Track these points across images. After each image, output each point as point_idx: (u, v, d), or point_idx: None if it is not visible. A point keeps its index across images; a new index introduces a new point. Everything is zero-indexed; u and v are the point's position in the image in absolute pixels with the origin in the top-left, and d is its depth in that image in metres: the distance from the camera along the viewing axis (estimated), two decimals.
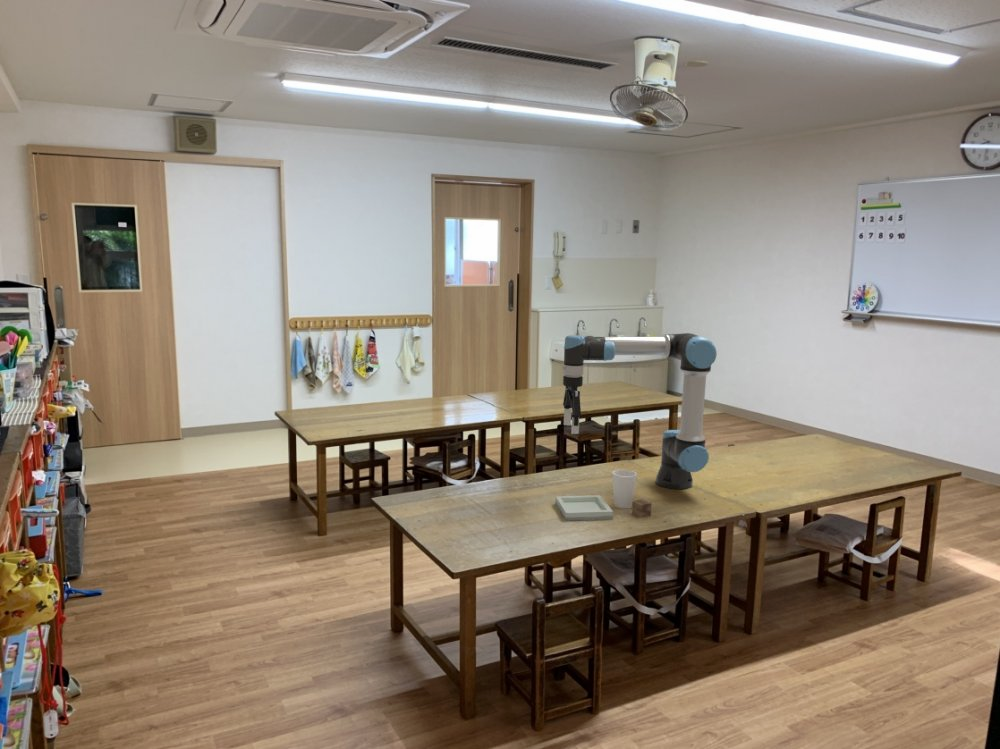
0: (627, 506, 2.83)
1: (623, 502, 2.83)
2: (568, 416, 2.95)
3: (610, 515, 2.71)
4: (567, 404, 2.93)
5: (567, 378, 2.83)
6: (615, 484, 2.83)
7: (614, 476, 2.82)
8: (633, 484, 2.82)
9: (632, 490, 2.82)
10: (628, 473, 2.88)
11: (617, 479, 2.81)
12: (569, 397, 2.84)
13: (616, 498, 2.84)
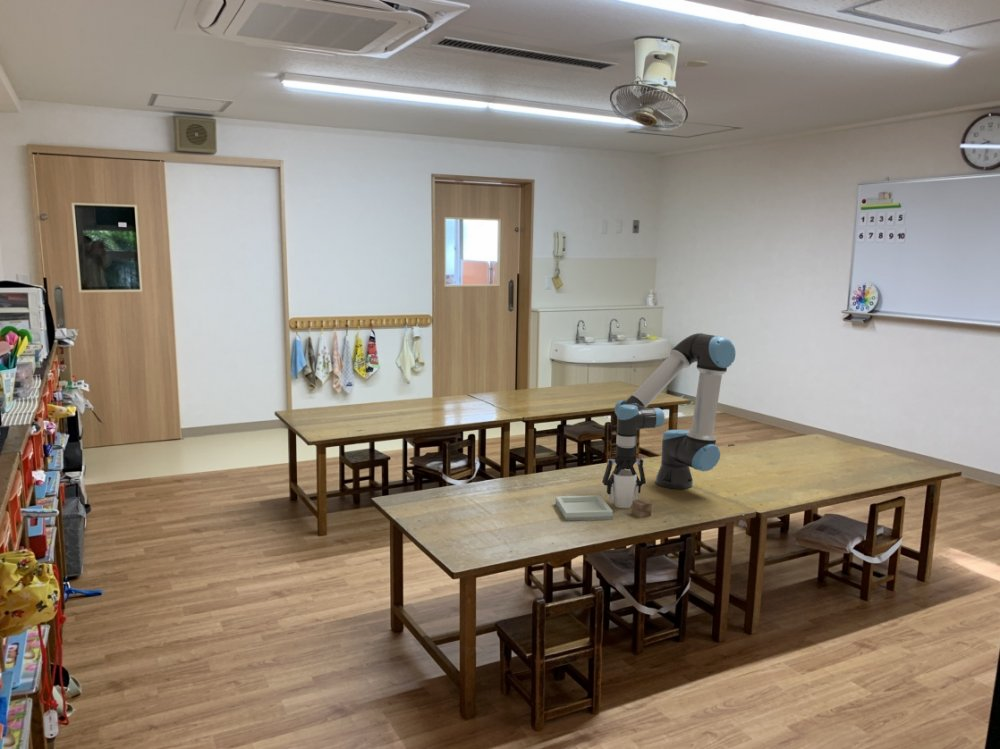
0: (627, 506, 2.83)
1: (623, 501, 2.83)
2: (635, 492, 2.86)
3: (610, 515, 2.71)
4: None
5: None
6: (615, 484, 2.83)
7: (614, 476, 2.82)
8: (633, 484, 2.82)
9: (632, 490, 2.82)
10: (628, 473, 2.88)
11: (617, 479, 2.81)
12: None
13: (616, 498, 2.84)
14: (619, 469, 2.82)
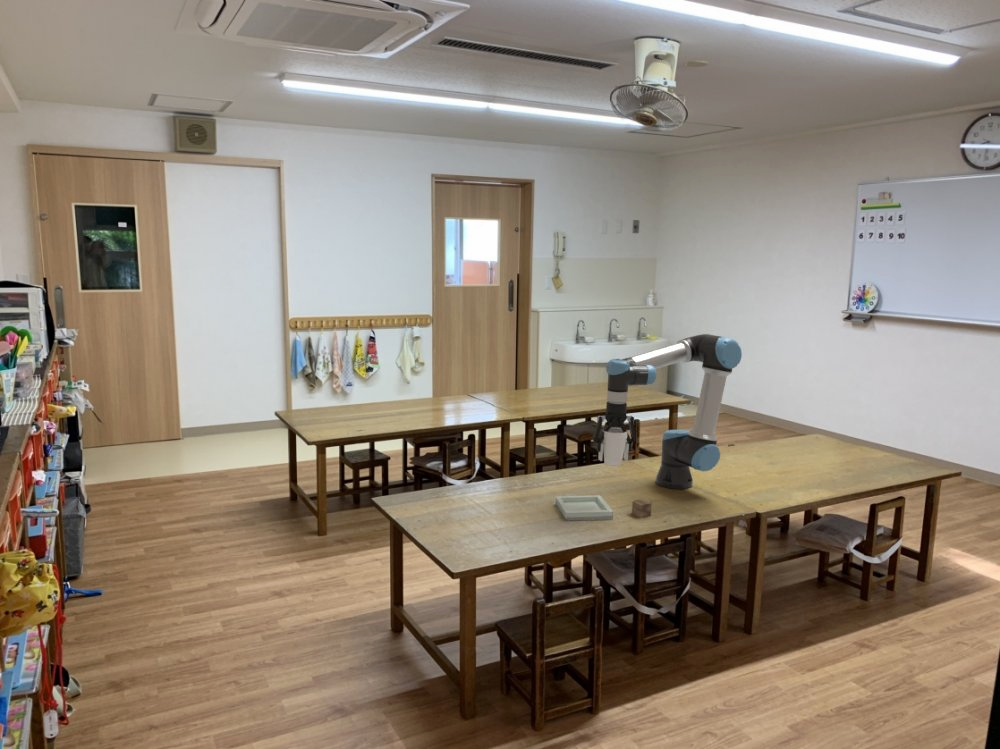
0: (617, 464, 2.78)
1: (613, 459, 2.77)
2: (625, 451, 2.80)
3: (610, 515, 2.71)
4: None
5: None
6: (605, 441, 2.77)
7: (604, 433, 2.77)
8: (623, 441, 2.76)
9: (622, 447, 2.77)
10: (618, 431, 2.82)
11: (607, 436, 2.76)
12: None
13: (606, 456, 2.78)
14: (609, 426, 2.76)
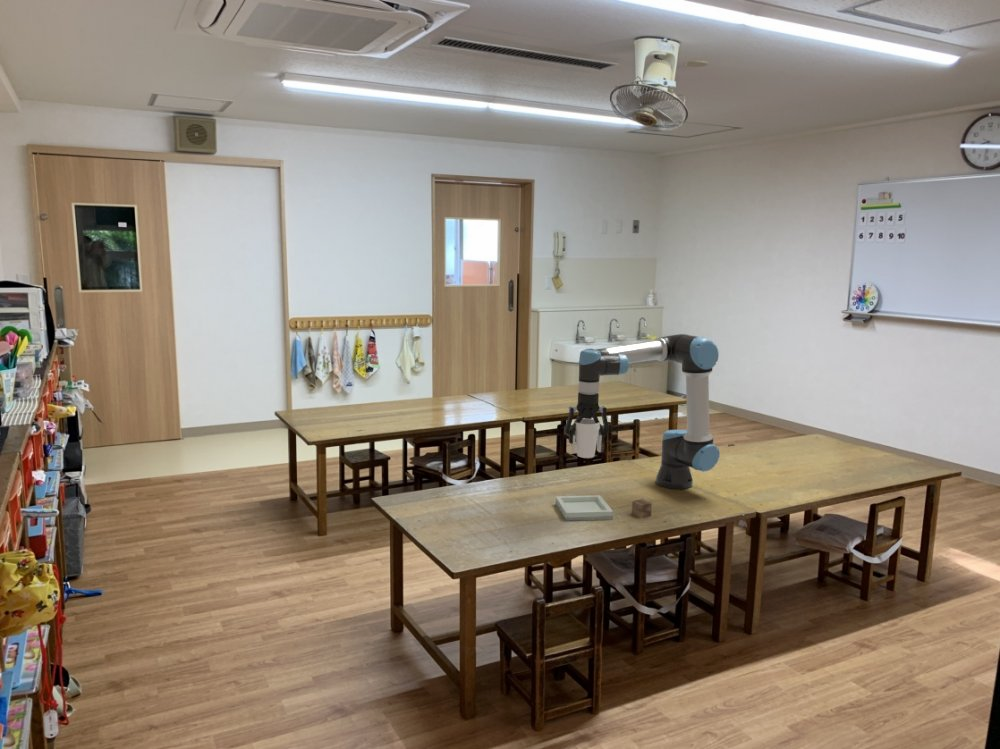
0: (590, 456, 2.72)
1: (585, 451, 2.71)
2: (598, 442, 2.75)
3: (610, 515, 2.71)
4: None
5: None
6: (577, 433, 2.71)
7: (576, 424, 2.71)
8: (596, 432, 2.71)
9: (595, 439, 2.71)
10: (591, 422, 2.76)
11: (579, 427, 2.70)
12: None
13: (578, 447, 2.73)
14: (581, 417, 2.71)
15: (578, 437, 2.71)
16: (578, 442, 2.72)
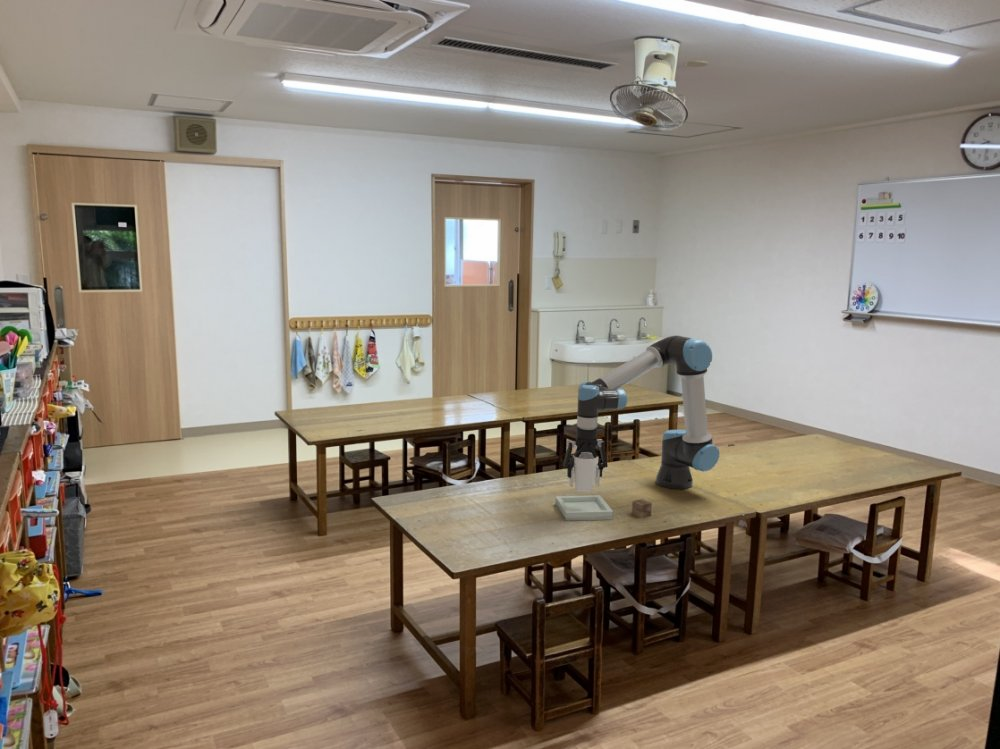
0: (588, 490, 2.74)
1: (584, 485, 2.74)
2: (596, 476, 2.77)
3: (610, 515, 2.71)
4: None
5: None
6: (576, 467, 2.74)
7: (574, 459, 2.73)
8: (594, 467, 2.73)
9: (593, 473, 2.73)
10: (589, 456, 2.79)
11: (577, 462, 2.72)
12: None
13: (577, 482, 2.75)
14: (580, 452, 2.73)
15: (576, 471, 2.74)
16: (576, 476, 2.74)
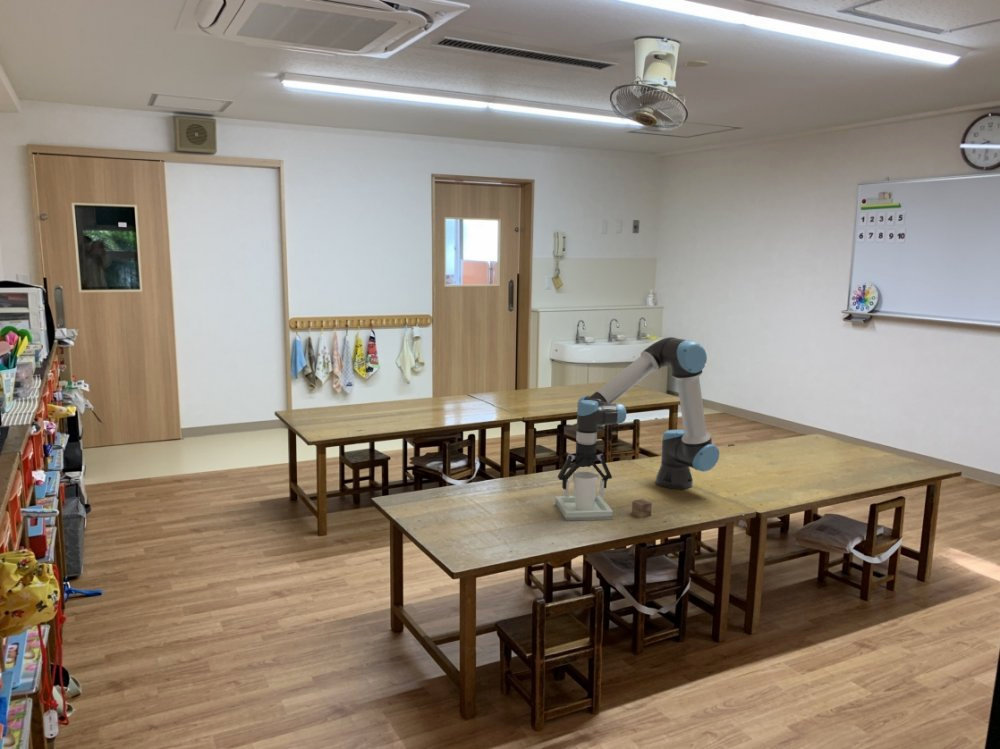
0: (588, 509, 2.76)
1: (584, 504, 2.75)
2: (601, 487, 2.78)
3: (610, 515, 2.71)
4: None
5: None
6: (576, 486, 2.75)
7: (575, 478, 2.75)
8: (594, 486, 2.74)
9: (593, 492, 2.75)
10: (589, 475, 2.80)
11: (578, 481, 2.73)
12: None
13: (577, 501, 2.76)
14: (578, 465, 2.74)
15: (577, 491, 2.75)
16: (577, 495, 2.76)
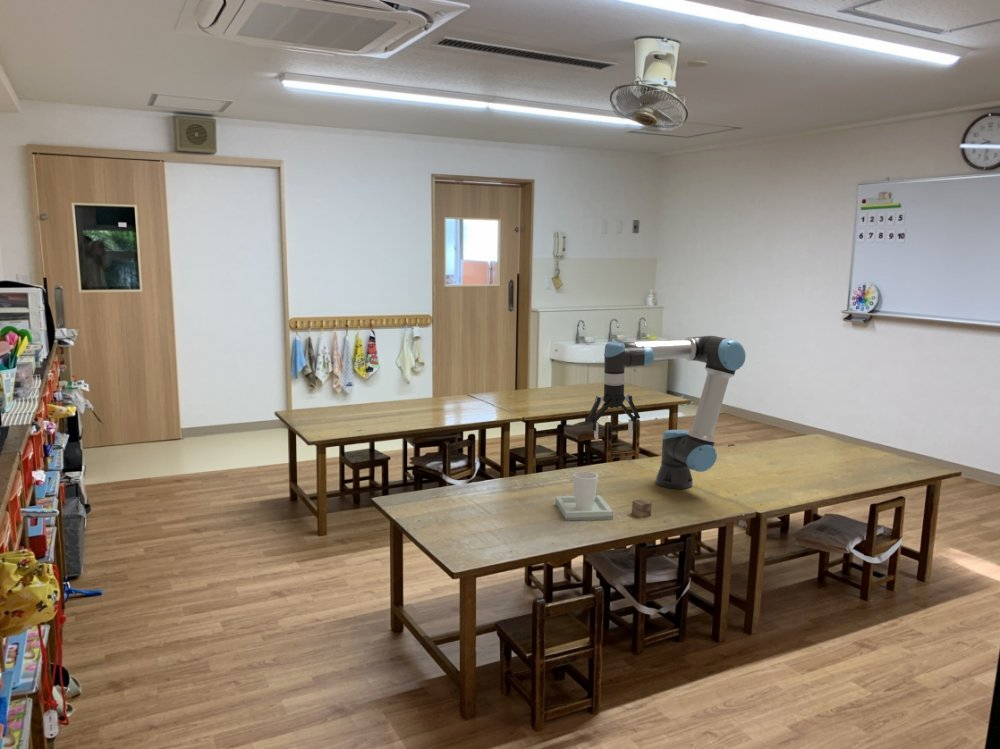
0: (588, 509, 2.76)
1: (584, 504, 2.75)
2: (629, 428, 2.84)
3: (610, 515, 2.71)
4: None
5: None
6: (576, 486, 2.75)
7: (575, 478, 2.75)
8: (594, 486, 2.74)
9: (593, 492, 2.75)
10: (589, 475, 2.80)
11: (577, 481, 2.73)
12: (606, 403, 2.83)
13: (577, 501, 2.76)
14: (607, 407, 2.80)
15: (577, 491, 2.75)
16: (577, 495, 2.76)
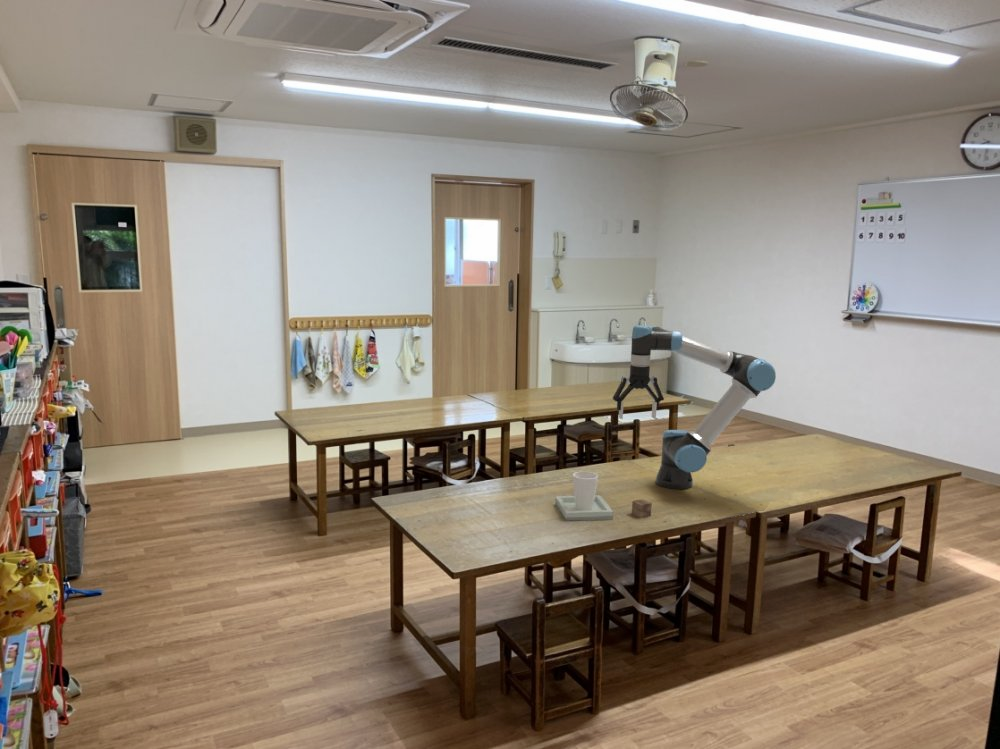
0: (588, 509, 2.76)
1: (584, 504, 2.75)
2: (653, 409, 2.94)
3: (610, 515, 2.71)
4: (652, 396, 2.93)
5: None
6: (576, 486, 2.75)
7: (575, 478, 2.75)
8: (594, 486, 2.74)
9: (593, 492, 2.75)
10: (589, 475, 2.80)
11: (577, 481, 2.73)
12: None
13: (577, 501, 2.76)
14: (632, 387, 2.89)
15: (577, 491, 2.75)
16: (577, 495, 2.76)
